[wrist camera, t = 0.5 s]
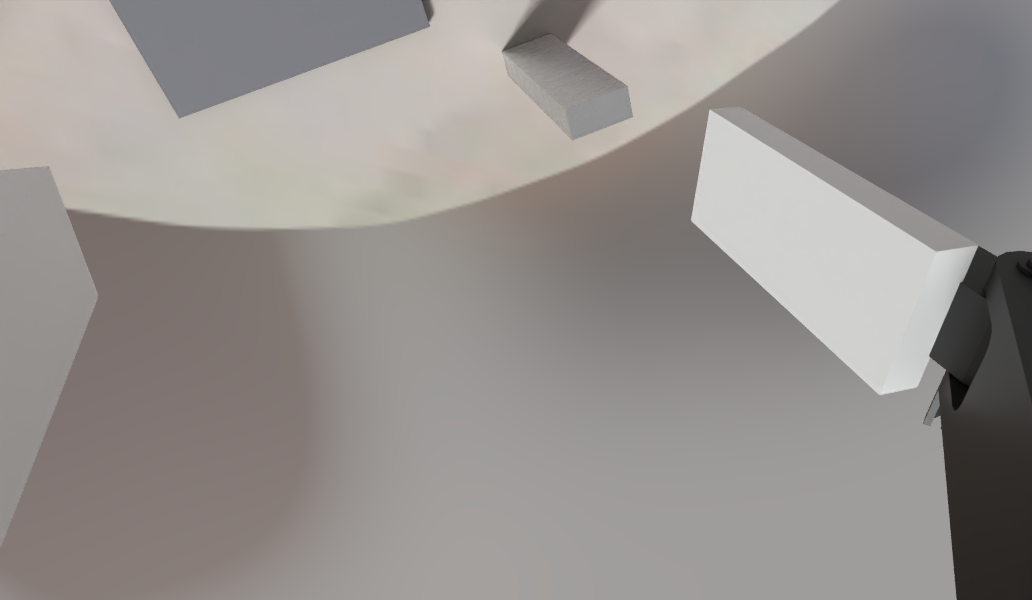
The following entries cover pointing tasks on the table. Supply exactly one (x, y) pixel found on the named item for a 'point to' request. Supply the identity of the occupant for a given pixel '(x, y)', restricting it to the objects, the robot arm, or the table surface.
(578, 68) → the posts
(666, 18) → the table surface
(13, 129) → the table surface
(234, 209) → the table surface
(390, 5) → the mat
